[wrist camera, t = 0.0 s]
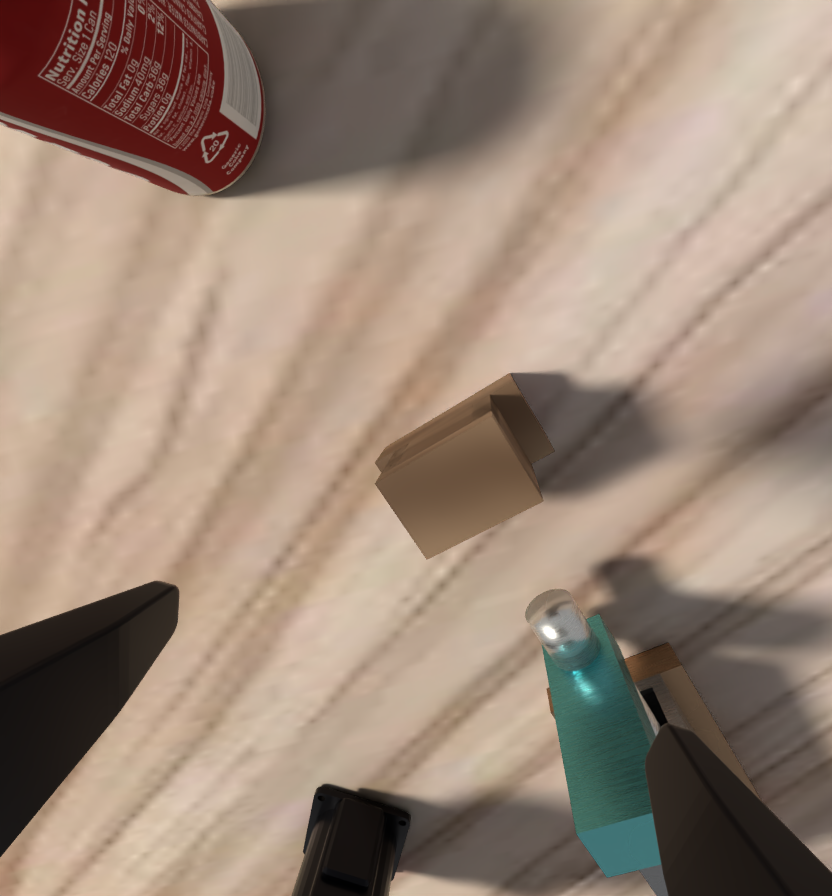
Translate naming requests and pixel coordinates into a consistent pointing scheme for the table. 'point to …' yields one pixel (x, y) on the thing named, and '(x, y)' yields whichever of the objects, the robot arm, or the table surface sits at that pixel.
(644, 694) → the sleeve
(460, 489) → the socket
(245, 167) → the soda can
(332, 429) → the table surface
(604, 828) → the teal block on rod
